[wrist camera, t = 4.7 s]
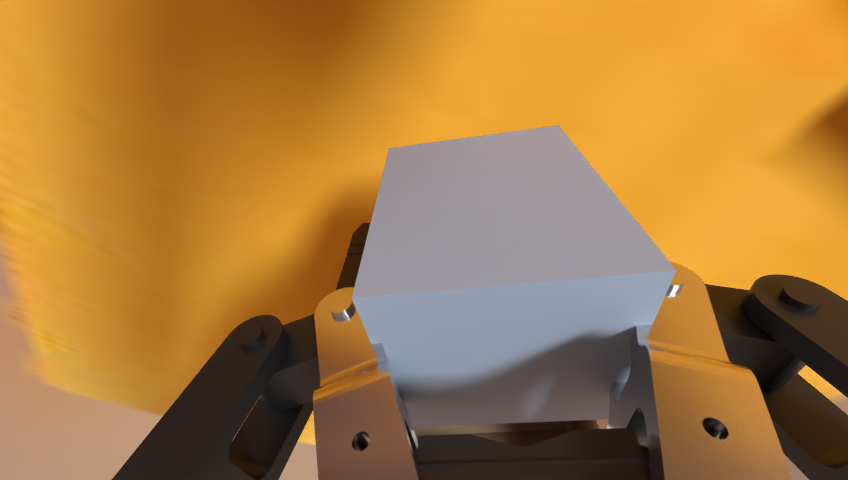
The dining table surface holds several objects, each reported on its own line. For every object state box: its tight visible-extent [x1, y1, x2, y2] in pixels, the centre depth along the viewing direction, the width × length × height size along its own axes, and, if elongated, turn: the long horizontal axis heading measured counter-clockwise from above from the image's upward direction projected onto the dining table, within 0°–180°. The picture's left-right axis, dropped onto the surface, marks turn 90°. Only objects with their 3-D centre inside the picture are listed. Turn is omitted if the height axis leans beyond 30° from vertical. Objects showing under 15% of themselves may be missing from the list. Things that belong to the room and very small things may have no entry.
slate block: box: [352, 125, 676, 427], centre depth 9 cm, size 5×5×6 cm
